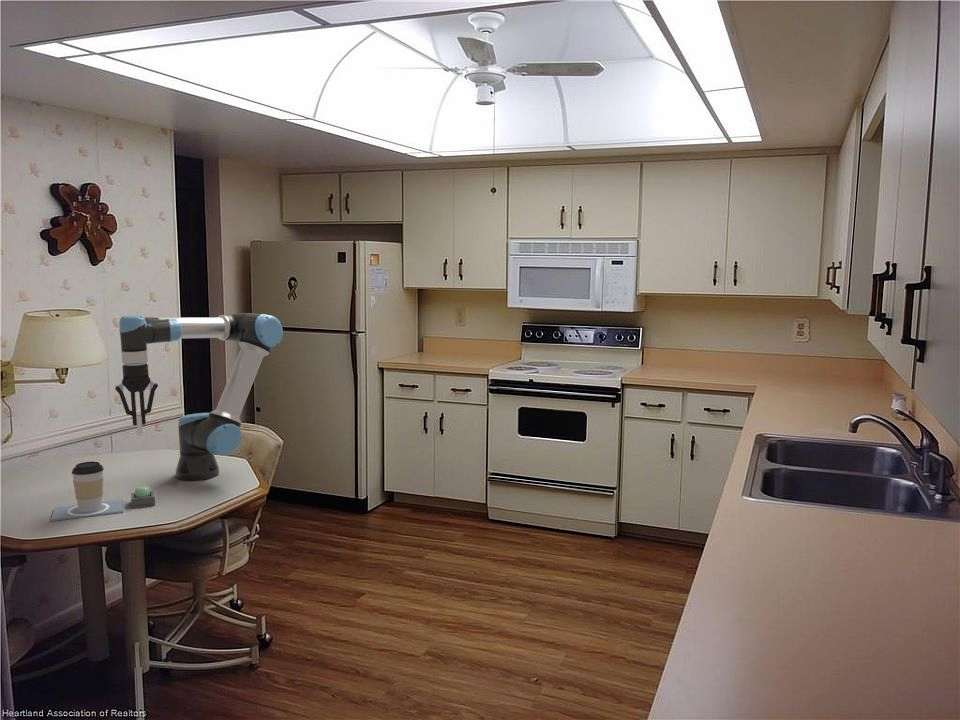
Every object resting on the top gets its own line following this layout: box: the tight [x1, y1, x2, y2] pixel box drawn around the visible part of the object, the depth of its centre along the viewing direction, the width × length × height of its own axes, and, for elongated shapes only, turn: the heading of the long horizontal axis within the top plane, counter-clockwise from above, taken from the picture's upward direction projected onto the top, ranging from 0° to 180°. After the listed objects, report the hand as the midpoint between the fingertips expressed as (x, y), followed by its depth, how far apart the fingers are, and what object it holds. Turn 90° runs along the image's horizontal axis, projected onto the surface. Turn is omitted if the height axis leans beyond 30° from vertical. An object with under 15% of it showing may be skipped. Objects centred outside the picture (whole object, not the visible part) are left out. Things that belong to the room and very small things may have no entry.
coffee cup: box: [71, 461, 104, 512], centre depth 239 cm, size 9×9×15 cm
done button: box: [134, 485, 151, 498], centre depth 247 cm, size 4×4×4 cm
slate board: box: [50, 499, 124, 522], centre depth 240 cm, size 20×12×1 cm, turn 115°
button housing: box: [130, 490, 156, 509], centre depth 247 cm, size 7×7×3 cm
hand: (140, 434), depth 246 cm, fingers closed
